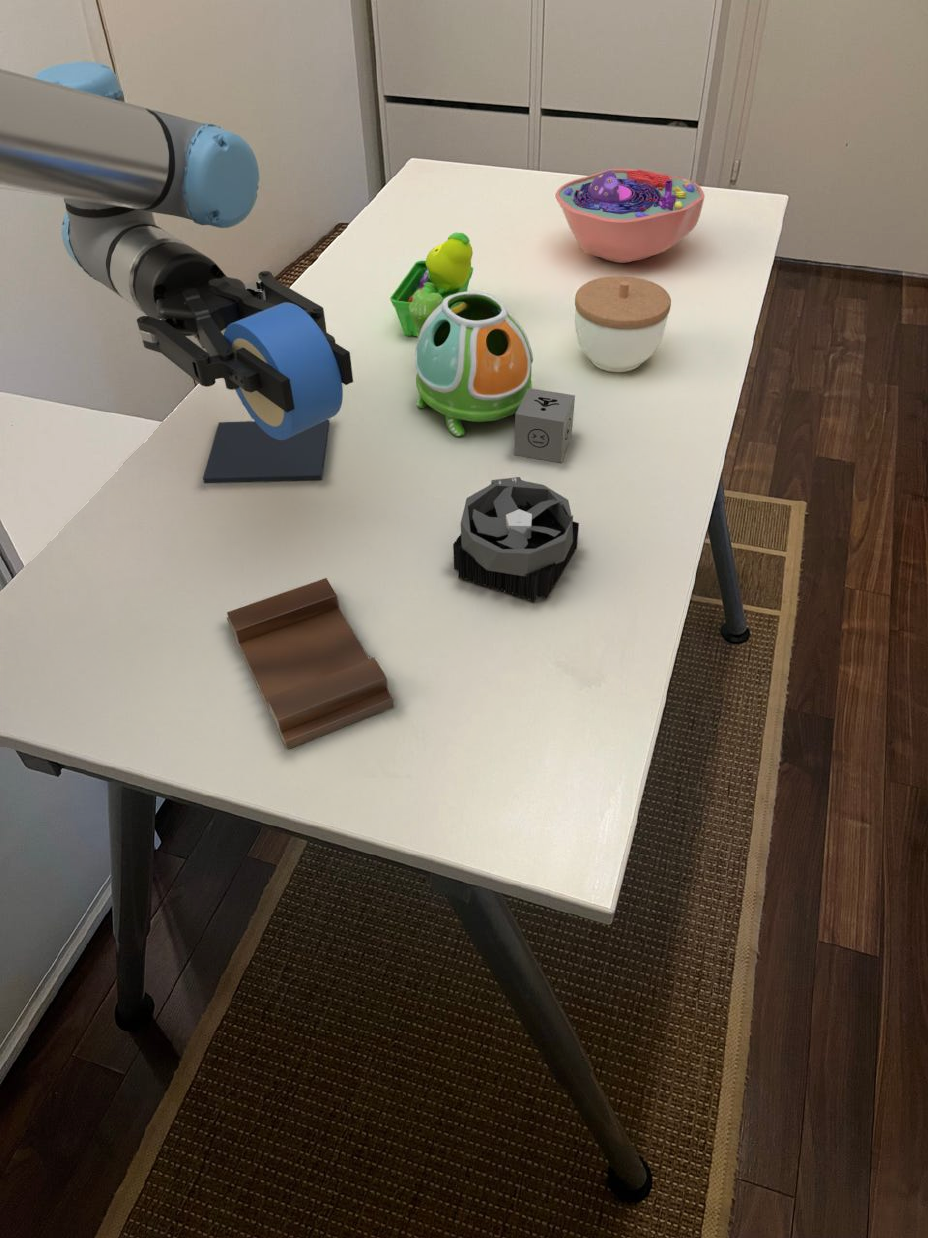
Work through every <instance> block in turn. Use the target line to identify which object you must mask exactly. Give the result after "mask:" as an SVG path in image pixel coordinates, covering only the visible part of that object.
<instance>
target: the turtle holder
mask: <svg viewBox="0 0 928 1238" xmlns="http://www.w3.org/2000/svg"><path fill="white" fill-rule="evenodd" d="M457 302H463V303H462V304H460V305H459V306H457V307H455V308H452V309H449V308H450V307H451V306H452V305H454V304H455V303H457ZM409 313H410V316H411V318H412V320H413V322H414V324H415V327H416V330H417V335H418V337H417V341H416V345H415V349H414V367H415V371H416V377H415V384H416V385H415V386H416V389H417V392H418V394H419V395H418V397H417V400H416V407H417V408H419V409H425V408H426V407H427V406H429V407H430V408H431V409H433V410H435V411H436V412H438V413H440V414H443V415H445V423H446V426H447V429H448V431H449V432H450V433H451V434H452V436H453V435H454V436H455V437H463V436H464V435H465V433H466V432H465V428H464V425H463V423H462V420H463V421H468V422H476V423H477V422H478V423H480V422H481V423H482V422H484V423H485V422H493V421H498V420H500V419H504V418H506V417H509V416H512V415H514V414H516V412H517V410H518V408H519V406H520V403H521V401H522V399H523V397H524V395H525V393H526V391H527V389H528V388H531V389H533V383H532V370H533V369H532V364H533V362H534V355H533V351H532V346H531V344H530V341H529V338H528V336H527V334H526V332H525V329H524V328H523V326H522V325H521V324H520V322H519V320H517V319H516V318H515V316H513V315H512V314H511V313H510V311H508V309H507V307H506V306H505V304H504V303H503V302H502V301H501V300H500V299H499V298H497V297H495V296H493V295H492V294H490V293H488V292H484V291H480V290H467V291H466V292H460V293H456V294H453V295H450V296H448V297H446V298H445V299H444V300H443V298H442V296H441V295H440V294H438V293H431V294H430V293H428V292H426V291H423V290H418V291H416V292H415V293H414V294H413V299H412V303H411V304H410V305H409Z"/></svg>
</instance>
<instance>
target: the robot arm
mask: <svg viewBox="0 0 928 1238" xmlns="http://www.w3.org/2000/svg"><path fill="white" fill-rule="evenodd" d="M259 184H260V168H259V164H258V160H257V157H256V155H255V152H254V151H253V149H252V147H251V146H250V144H249V143H248V142H247V141H246V140H245V139H244V138H243V137H242V136H240V135H239V134H237V133H235V132H233V131H230V130H227V129H224V128H221V126H219V125H216V124H213V123H203V122H200V121H196V120H193V119H188V118H186V117H185V118H184V117H181V116H177V115H173V114H170V113H166V112H162V111H158V110H154V109H150V108H146V107H143V106H140V105H137V104H132V103H129V102H125V93H124V91H123V90H122V87H121V85H120V82H119V79H118V76H117V74H116V73H115V72H114V71H113V70H112V69H111V67H110V66H108V65H106V64H105V63H101V62H95V61H70V62H65V63H58V64H56V65H51V66H48V67H46V68H43V69H41V70H40V71H38V72H36V73H35V74H34V76H33V77H31V76H28V75H25V74H21V73H18V72H13V71H10V70H6V69H3V68H0V190H1V189H2V190H9V191H15V192H20V193H21V192H22V193H28V194H34V195H42V196H48V197H54V198H55V197H56V198H62V199H63V202H64V204H65V210H66V211H65V213H64V215H63V216H62V217H63V218H62V225H61V239H62V243H63V246H64V248H65V250H66V252H67V254H68V255H69V257H70V258H71V259H72V260H73V261H74V262H75V263H76V264H77V265H78V266H79V267H80V268H82V270H83V272H84V273H86V274H87V275H88V277H90V278H92V279H93V280H94V281H96V282H99V283H100V284H101V285H103V286H105V287H106V288H108V289H109V290H111V291H112V292H114V293H115V294H116V295H118V296H119V297H121V298H122V299H124V300H125V301H126V302H127V303H129V304H130V305H131V306H133V307H134V308H135V309H137V310H139V311H140V312H141V313H143V314H144V315H142V316H139V317H138V318H136V323H137V327H138V331H139V334H140V337H141V340H142V344H143V347H144V349H146V350H150V351H153V352H155V353H160V354H162V355H163V356H164V357H165V358H167V359H168V360H169V361H170V362H171V363H173V364H174V365H175V366H176V367H178V368H179V369H180V370H181V371H183V372H184V373H185V374H187V375H188V376H189V377H191V379H193V380H194V381H195V382H197V383H198V384H199V385H201V386H202V387H205V388H206V387H207V388H208V387H212V386H214V385H215V384H216V383H217V382H216V380H219V379H223V380H224V383H225V388H226V389H227V390H230V391H233V390H235V389H237V388H239V387H241V388H242V389H244V390H245V391H247V392H251V393H252V392H254V391H258V392H259V393H260V394H262V395H263V396H265V397H266V398H267V399H269V400H270V401H271V402H273V403H274V404H276V405H277V406H278V407H280V408H281V409H282V410H284V411H285V412H289V411H292V410H294V409H295V407H294V401H293V396H292V390H291V384H290V379H289V378H288V377H286V376H285V375H283V374H282V373H280V372H279V371H277V370H276V369H275V368H273V367H272V366H270V365H269V364H267V363H266V362H264V361H263V360H261V359H260V358H258V357H257V356H255V355H254V354H252V353H251V352H250V351H248V350H247V349H245V348H244V347H243V348H240V349H238V350H236V355H237V357H236V356H235V355H234V353H233V349H232V348H231V346H230V345H229V343H228V342H227V340H226V339H225V337H224V333H222V331H225V329H226V328H227V326H228V325H230V324H231V323H234V322H236V321H239V320H241V319H244V318H246V317H249V316H251V315H254V314H256V313H259V312H261V311H264V310H266V309H269V308H271V307H274V306H276V305H279V304H281V303H293V304H295V305H297V306H299V307H300V308H302V309H303V310H304V311H305V312H306V313H307V314H308V315H309V316H310V317H311V318H312V319H313V320H314V321H315V322H316V324H317V325H318V326H319V328H320V329H321V331H322V332H323V334H324V336H325V337H326V339H327V341H328V343H329V345H330V347H331V349H332V351H333V354H334V356H335V359H336V361H337V364H338V368H339V371H340V375H341V380H342V385H345V386H348V385H349V384H352V383H354V377H353V376H354V375H353V369H352V359H351V352H350V351H349V350H347V349H346V348H344V347H343V346H341V345H340V344H338V343H336V339H335V337H334V336H333V335H331V334H330V333H328V332H327V323H326V317H325V311H324V310H325V309H324V307H323V306H321V305H320V304H318V303H317V302H314V301H313V300H311V299H309V298H308V297H306V296H305V295H302V294H301V293H298V292H297V291H295V290H293V289H292V288H290V287H288V286H286V285H285V284H284V283H282V282H279V281H278V280H276V278H275V276H274V275H273V273H272V272H271V271H269V270H262V271H260V272H258V274H257V275H258V276H257V277H258V278H257V279H256V280H255V281H252V282H247V283H244V282H243V281H242V280H241V279H239V278H235V277H229V276H228V275H226V274H225V272H224V271H223V270H222V269H221V268H220V266H218V264H217V263H216V262H215V261H214V260H212V259H211V258H210V257H209V256H207V255H205V254H204V253H202V252H200V251H198V250H197V249H196V248H194V247H192V246H190V245H189V244H188V243H186V242H185V241H183V240H181V239H179V238H178V237H176V236H174V235H173V234H171V233H170V232H168V231H166V230H164V229H163V228H162V227H160V226H158V225H157V224H156V223H155V220H154V216H153V213H155V214H161V215H166V216H167V215H169V216H174V217H178V218H181V219H182V218H183V219H187V220H191V221H192V222H194V223H195V224H197V225H199V226H211V227H215V228H219V229H230V228H232V227H236V226H237V225H239V224H240V223H242V222H243V221H244V220H245V219H247V217H248V216H249V215H250V213H251V212H252V210H253V208H254V206H255V204H256V201H257V199H258V191H259V187H260V186H259ZM192 336H193V337H194V339H196V340H197V341H198V343H199V345H200V346H201V347H200V346H199V345H198V344H197V343H195V342H193V341H192V340H191V339H190V338H188V337H192Z"/></svg>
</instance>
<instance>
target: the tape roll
mask: <svg viewBox="0 0 928 1238" xmlns="http://www.w3.org/2000/svg"><path fill="white" fill-rule="evenodd" d="M223 336H224V337H225V339H226V340H227V342H228V343H229V345H230V346H231V348H232V349H233V353H234V355H235V356H236V357H237V355H236V350H238V349H240V348H243V347H244V348H245V349H247V350H248V351H250V352H251V353H252V354H254V355H255V356H257V357H258V358H260V359H261V360H263V361H264V362H266V363H267V364H269V365H270V366H272V367H273V368H275V369H276V370H277V371H279V372H280V373H282V374H283V375H285V376H286V377H288V378H289V379H290V384H291V390H292V396H293V401H294V407H295V409H294V410H292V411H289V412H285V411H284V410H282V409H281V408H280V407H278V406H277V405H276V404H274V403H273V402H271V401H270V400H269V399H267V398H266V397H265V396H263V395H262V394H260V393H259V392H258V391H254V392H252V393H251V392H247V391H245V390H244V389H242V388H241V387H239V388H237V389H234V390H235V391H236V394H237V397H238V398H239V400H240V402H241V403H242V405H243V407H244V408H245V410H246V412H247V413H248V414H249V416H250V417H251V419H252V420H253V421H255V422H256V423H257V425H258V426H259V427H260V428H261V429H262V430H263V431H264V432H266V433H267V434H268V435H270V436H271V437H273V438H275V439H278V440H286V439H288V438H290V437H292V436H294V435H296V434H298V433H300V432H302V431H305V430H307V429H309V428H311V427H313V426H315V425H317V424H319V423H321V422H323V421H325V420H327V419H328V420H330V419H331V418H335V416H336V415H338V413H339V412H340V410H341V408H342V404H343V399H344V387H343V383H342V380H341V375H340V371H339V368H338V364H337V361H336V359H335V356H334V354H333V351H332V349H331V347H330V345H329V343H328V341H327V339H326V337H325V336H324V334H323V332H322V331H321V329H320V328H319V326H318V325H317V324H316V322H315V321H314V320H313V319H312V318H311V317H310V316H309V315H308V314H307V313H306V312H305V311H304V310H303V309H302V308H300V307H299V306H297V305H295V304H293V303H281V304H279V305H276V306H274V307H271V308H269V309H266V310H264V311H261V312H259V313H256V314H254V315H251V316H249V317H246V318H244V319H241V320H239V321H236V322H234V323H231V324H230V325H228V326H227V328H226V329H224V332H223Z"/></svg>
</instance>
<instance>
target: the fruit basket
mask: <svg viewBox="0 0 928 1238" xmlns="http://www.w3.org/2000/svg"><path fill="white" fill-rule="evenodd" d="M470 241H471V240H470V238H469V236H467V234H465V233H463V232H453V233H452V234H450V235H449V236H448V238H447V240H445V241H444V242H442V243H440V244H437V245H436V246H434V247H433V248H432V249H431V250H430V251H429V252H428V254H427V255H426V259H425V260H417V261H416V262H415V263H414V264H413V266H412V267H411V268H410V270H409V271H408V272H407V274H406V275H405V277H404V278H403V279H402V281H401V282H400V284H398V287H397V288H396V289H395V290H394V292H393V293H392V294H391V295H390V297H389V300H390V302H391V304H392V306H393V307H394V309H395V312H396V315H397V318H398V320H399V323H400V326H401V329H402V331H403V335H404V336H408V337H409V336H414V337H417V338H418V335H417V330H416V327H415V324H414V322H413V320H412V318H411V316H410V313H409V305H410V304H411V303H412V299H413V294H414V293H415V292H416V291H418V290H423V291H426V292H428V293H430V294H431V293H438V294H440V295H441V296H442V298H443V300H444V299H445V298H446V297H448V296H450V295H453V294H456V293H460V292H466V291H468V288H469V284H470V280H471V278H472V275H473V272H474V267H473V266H472V258H473V253H474V252H473V251H474V250H473V247H472V245H471V243H470ZM462 303H463V302H457V303H455V304H454V305H452V306H451V307H450V308H449V309H452V308H455V307H457V306H459V305H460V304H462Z"/></svg>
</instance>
